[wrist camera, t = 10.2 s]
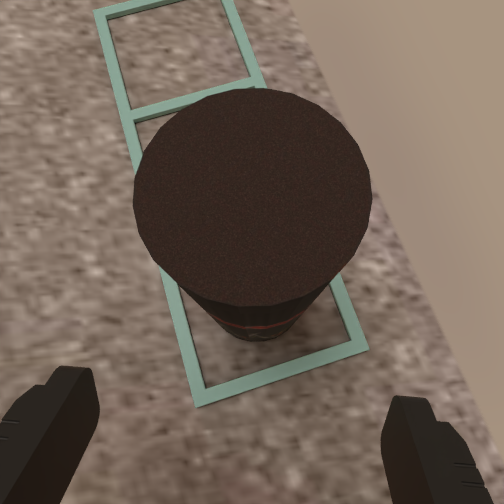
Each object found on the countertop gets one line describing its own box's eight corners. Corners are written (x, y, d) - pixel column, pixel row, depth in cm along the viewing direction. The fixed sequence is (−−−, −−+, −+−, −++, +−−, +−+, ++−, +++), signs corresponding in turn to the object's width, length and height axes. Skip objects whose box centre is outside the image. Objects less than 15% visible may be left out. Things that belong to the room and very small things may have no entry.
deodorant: (300, 347, 23) (368, 320, 9) (202, 335, 23) (110, 292, 9) (307, 252, 25) (375, 97, 10) (215, 242, 25) (155, 78, 11)
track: (367, 349, 23) (369, 349, 23) (196, 407, 22) (195, 408, 22) (223, -19, 31) (223, -24, 31) (94, 14, 30) (92, 10, 30)
